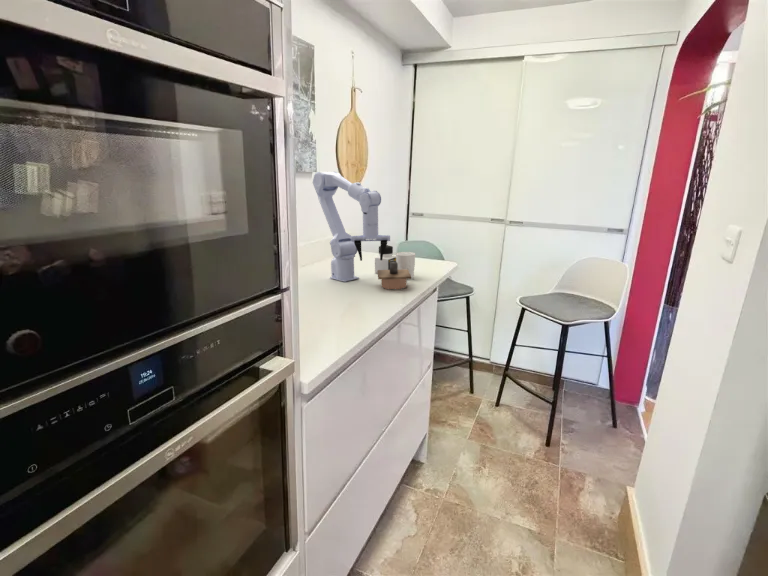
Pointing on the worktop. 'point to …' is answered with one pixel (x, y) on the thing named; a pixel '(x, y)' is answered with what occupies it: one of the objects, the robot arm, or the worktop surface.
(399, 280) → the bowl
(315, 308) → the worktop surface
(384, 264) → the medicine bottle
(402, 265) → the white cup
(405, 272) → the lid
